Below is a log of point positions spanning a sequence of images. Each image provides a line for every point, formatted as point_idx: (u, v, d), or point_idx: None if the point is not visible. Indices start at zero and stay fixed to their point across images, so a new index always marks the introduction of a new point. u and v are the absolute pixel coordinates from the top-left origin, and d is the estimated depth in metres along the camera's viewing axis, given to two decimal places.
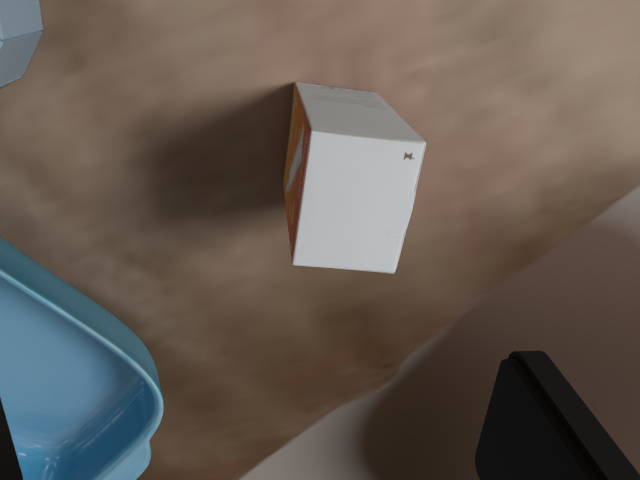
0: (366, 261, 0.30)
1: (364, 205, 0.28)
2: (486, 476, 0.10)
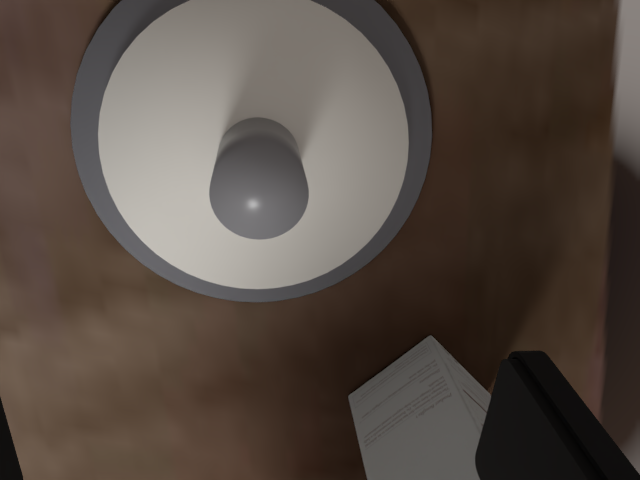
0: None
1: None
2: (486, 476, 0.10)
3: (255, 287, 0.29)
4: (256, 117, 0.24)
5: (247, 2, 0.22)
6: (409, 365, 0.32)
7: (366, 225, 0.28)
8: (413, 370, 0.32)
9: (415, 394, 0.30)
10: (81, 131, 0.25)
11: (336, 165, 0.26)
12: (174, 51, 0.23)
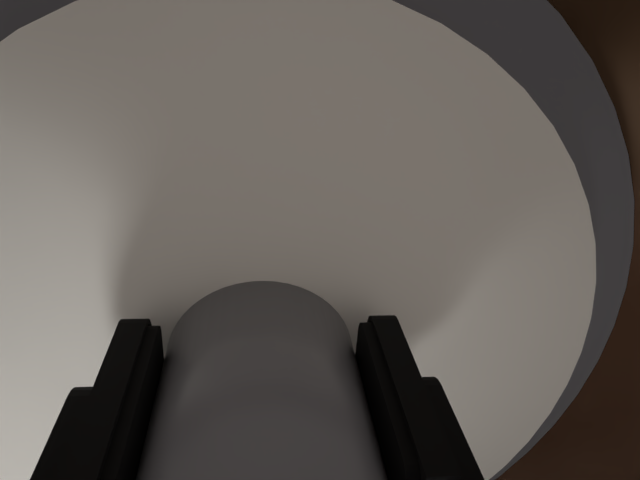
0: None
1: None
2: None
3: None
4: (255, 282, 0.10)
5: (230, 10, 0.08)
6: None
7: (480, 460, 0.14)
8: None
9: None
10: None
11: (432, 364, 0.12)
12: (38, 139, 0.09)
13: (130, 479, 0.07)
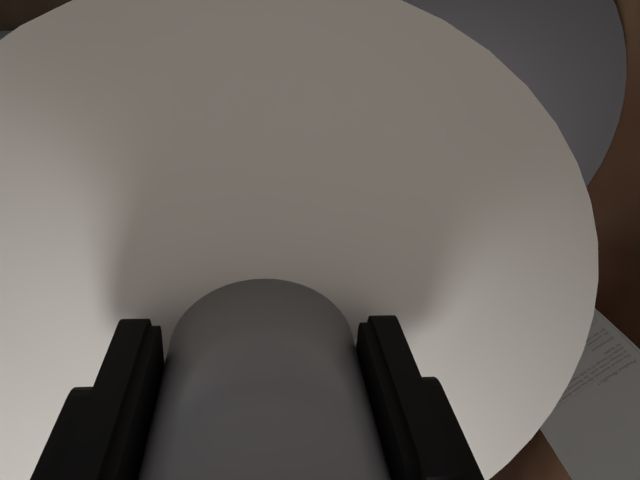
0: None
1: None
2: None
3: None
4: (257, 280, 0.10)
5: (232, 7, 0.08)
6: None
7: (481, 459, 0.14)
8: None
9: (589, 362, 0.30)
10: None
11: (433, 362, 0.12)
12: (41, 136, 0.09)
13: (130, 479, 0.07)
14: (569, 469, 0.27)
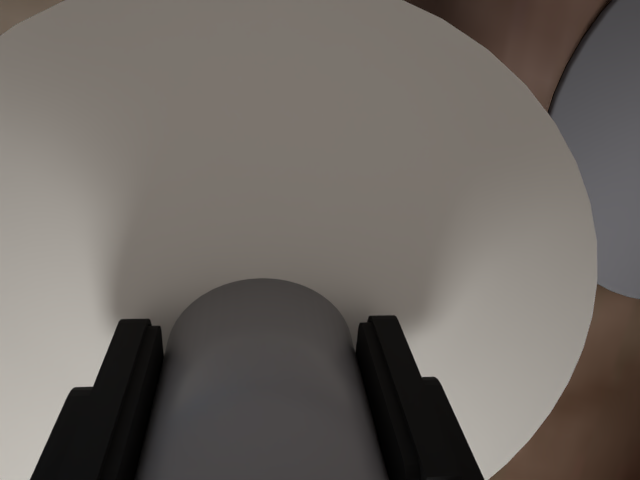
0: None
1: None
2: None
3: None
4: (255, 279, 0.10)
5: (229, 5, 0.08)
6: None
7: (480, 459, 0.14)
8: None
9: None
10: (567, 107, 0.22)
11: (432, 362, 0.12)
12: (37, 135, 0.09)
13: (130, 479, 0.07)
14: None
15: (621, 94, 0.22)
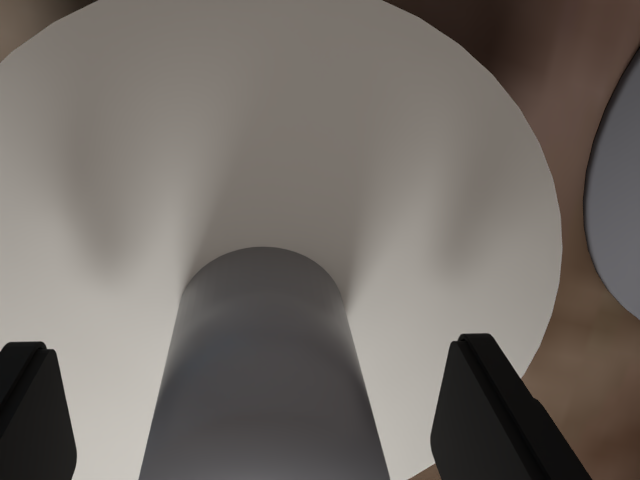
0: None
1: None
2: (438, 455, 0.11)
3: None
4: (257, 247, 0.12)
5: (235, 5, 0.09)
6: None
7: None
8: None
9: None
10: (622, 124, 0.18)
11: (416, 325, 0.13)
12: (69, 118, 0.10)
13: None
14: None
15: None
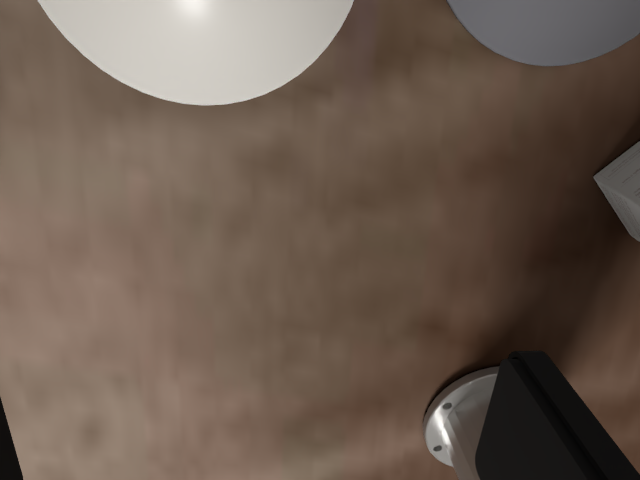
0: None
1: None
2: (486, 476, 0.10)
3: (202, 103, 0.25)
4: None
5: None
6: None
7: (324, 22, 0.24)
8: None
9: None
10: None
11: None
12: None
13: None
14: None
15: None
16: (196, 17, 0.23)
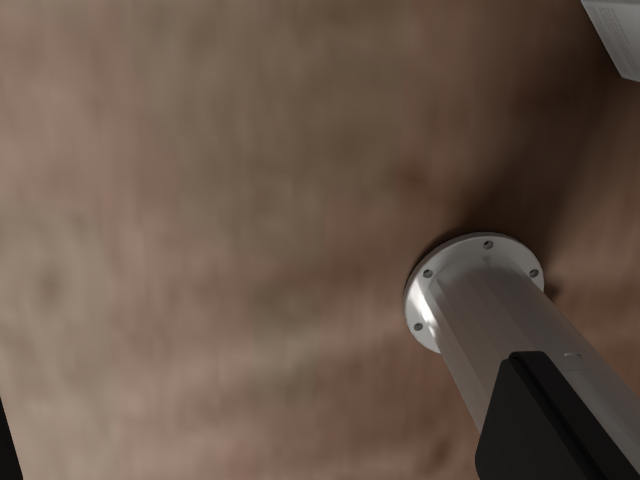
0: None
1: None
2: (486, 476, 0.10)
3: None
4: None
5: None
6: None
7: None
8: None
9: None
10: None
11: None
12: None
13: None
14: None
15: None
16: None
